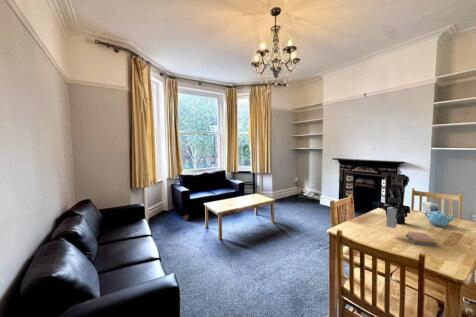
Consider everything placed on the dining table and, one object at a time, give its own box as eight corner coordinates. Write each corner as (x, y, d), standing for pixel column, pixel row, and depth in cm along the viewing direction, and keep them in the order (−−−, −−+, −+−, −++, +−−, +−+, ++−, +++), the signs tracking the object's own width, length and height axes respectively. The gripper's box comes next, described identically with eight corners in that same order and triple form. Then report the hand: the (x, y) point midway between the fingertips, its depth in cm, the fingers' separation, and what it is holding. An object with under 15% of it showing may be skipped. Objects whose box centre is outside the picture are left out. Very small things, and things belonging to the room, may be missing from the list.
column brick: (387, 224, 153) (388, 205, 151) (396, 226, 149) (397, 207, 147) (386, 226, 149) (387, 207, 148) (394, 228, 146) (396, 209, 144)
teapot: (423, 222, 172) (423, 209, 171) (440, 221, 172) (440, 208, 171) (438, 229, 159) (438, 215, 158) (456, 227, 159) (456, 213, 158)
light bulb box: (439, 217, 180) (439, 205, 180) (429, 217, 182) (430, 205, 181) (430, 213, 191) (430, 201, 190) (421, 213, 192) (422, 201, 191)
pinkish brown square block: (405, 236, 148) (405, 230, 148) (426, 238, 144) (426, 232, 144) (413, 244, 137) (413, 238, 136) (436, 246, 133) (436, 240, 133)
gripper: (378, 190, 156) (374, 209, 150) (410, 194, 143) (407, 214, 136) (380, 198, 162) (376, 216, 156) (411, 203, 149) (408, 223, 142)
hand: (391, 217), depth 147 cm, fingers closed on column brick, 5 cm apart
